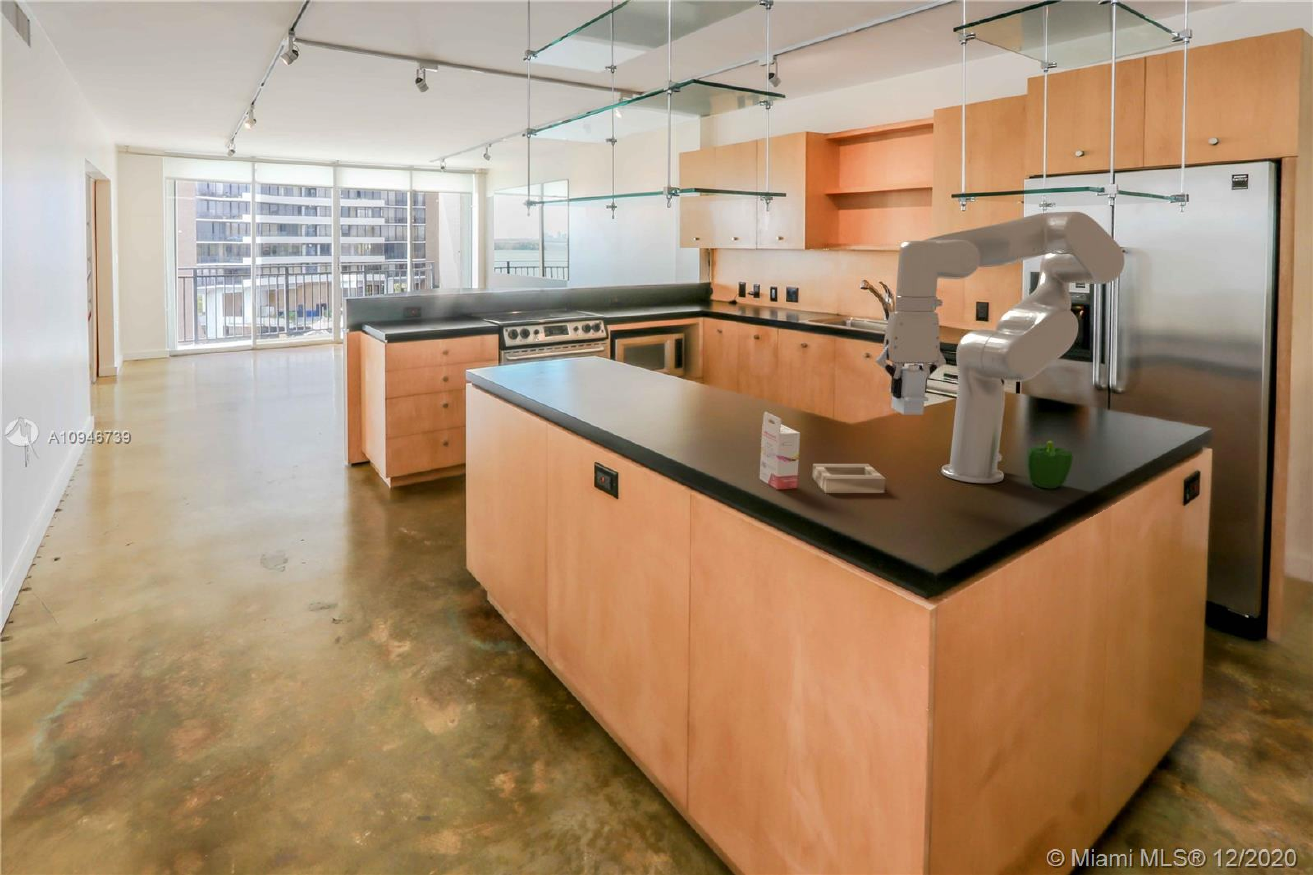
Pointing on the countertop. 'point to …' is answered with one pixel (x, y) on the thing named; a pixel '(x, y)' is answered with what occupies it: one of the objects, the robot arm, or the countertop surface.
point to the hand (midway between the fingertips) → (907, 396)
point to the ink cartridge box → (779, 454)
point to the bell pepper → (1048, 465)
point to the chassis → (848, 478)
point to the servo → (911, 391)
